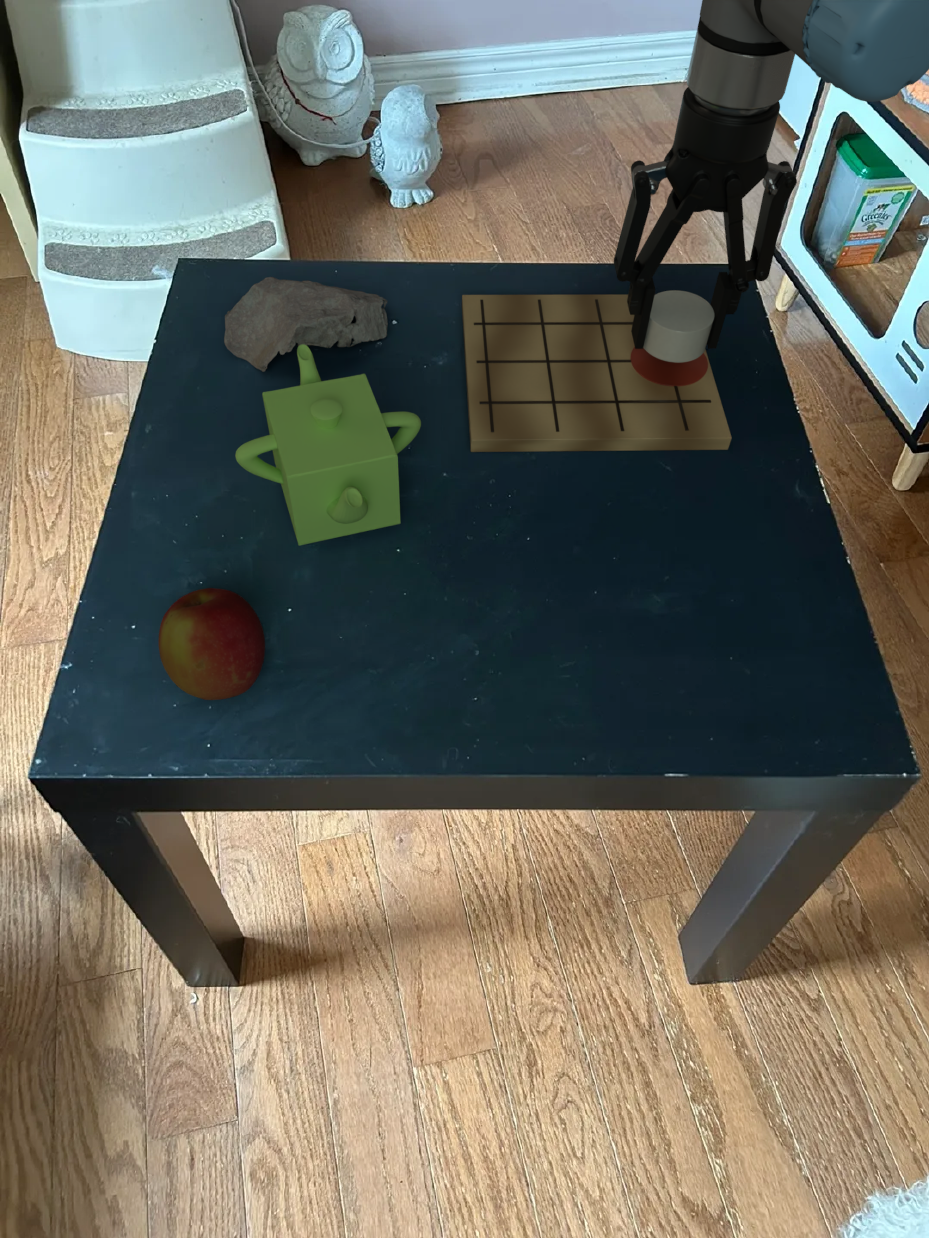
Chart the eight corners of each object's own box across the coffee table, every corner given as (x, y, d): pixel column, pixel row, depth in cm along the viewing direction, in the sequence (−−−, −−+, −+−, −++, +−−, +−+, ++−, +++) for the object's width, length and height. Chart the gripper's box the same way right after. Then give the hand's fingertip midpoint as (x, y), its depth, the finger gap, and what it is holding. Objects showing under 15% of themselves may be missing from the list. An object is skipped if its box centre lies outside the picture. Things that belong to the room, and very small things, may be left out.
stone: (334, 426, 95) (392, 345, 104) (356, 363, 88) (416, 283, 98) (195, 351, 94) (266, 275, 103) (207, 281, 87) (281, 208, 97)
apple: (286, 640, 76) (272, 575, 69) (253, 727, 71) (235, 667, 64) (193, 624, 76) (171, 558, 70) (154, 709, 72) (127, 647, 65)
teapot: (311, 425, 90) (299, 330, 82) (442, 468, 87) (443, 374, 79) (224, 536, 82) (200, 443, 73) (365, 587, 79) (357, 496, 70)
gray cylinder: (699, 320, 95) (707, 290, 93) (711, 362, 92) (720, 332, 89) (635, 320, 95) (641, 290, 92) (645, 362, 91) (651, 332, 88)
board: (686, 306, 103) (689, 293, 102) (727, 450, 90) (732, 436, 89) (461, 307, 102) (462, 293, 101) (470, 452, 89) (471, 439, 87)
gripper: (842, 71, 77) (763, 315, 96) (603, 69, 76) (569, 316, 95) (869, 118, 73) (781, 364, 91) (615, 116, 72) (578, 365, 90)
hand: (673, 339), depth 93 cm, fingers closed on gray cylinder, 6 cm apart
